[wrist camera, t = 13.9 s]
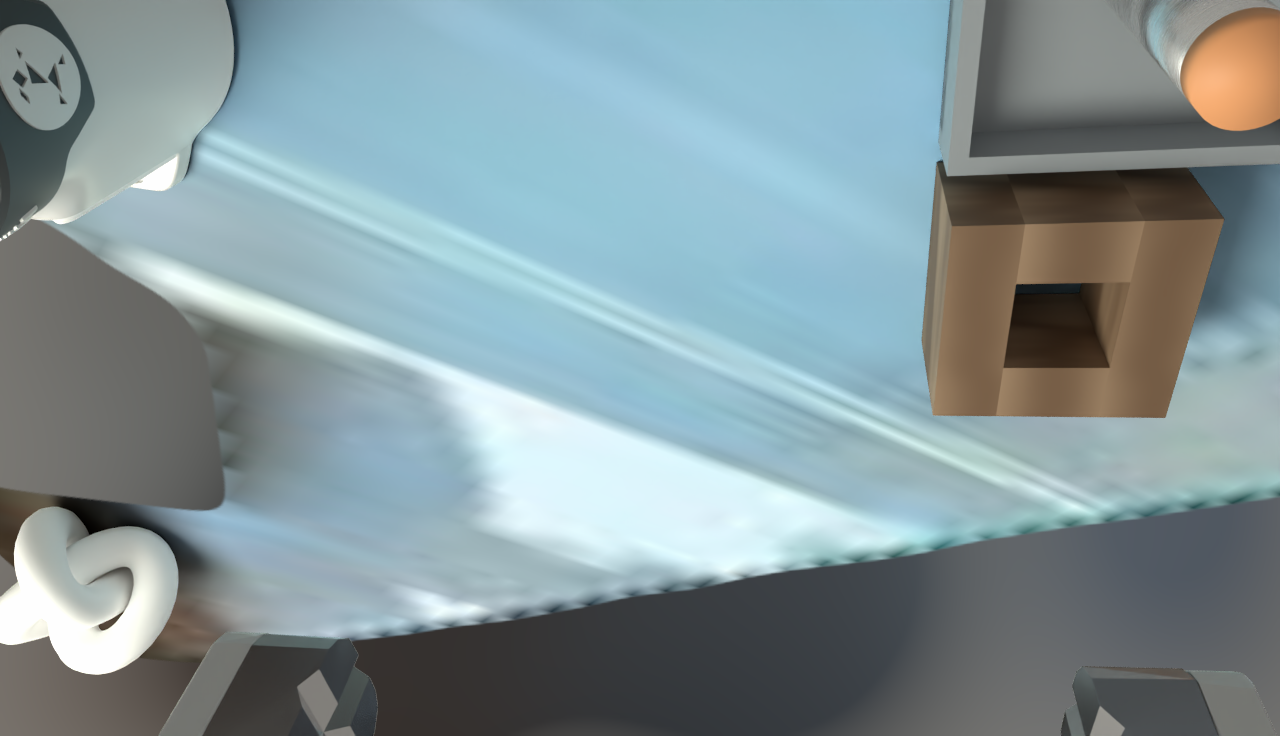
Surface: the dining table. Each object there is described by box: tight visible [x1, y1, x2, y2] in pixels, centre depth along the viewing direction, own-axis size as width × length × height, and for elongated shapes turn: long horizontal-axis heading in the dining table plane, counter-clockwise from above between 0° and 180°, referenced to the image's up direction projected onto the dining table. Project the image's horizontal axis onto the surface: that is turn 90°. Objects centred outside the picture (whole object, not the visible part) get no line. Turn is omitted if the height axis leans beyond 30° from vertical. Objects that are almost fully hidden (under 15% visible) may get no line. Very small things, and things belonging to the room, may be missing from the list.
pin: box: [1105, 0, 1280, 131], centre depth 31 cm, size 3×3×11 cm
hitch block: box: [922, 162, 1224, 418], centre depth 41 cm, size 10×10×6 cm
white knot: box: [0, 507, 178, 674], centre depth 67 cm, size 11×12×9 cm
